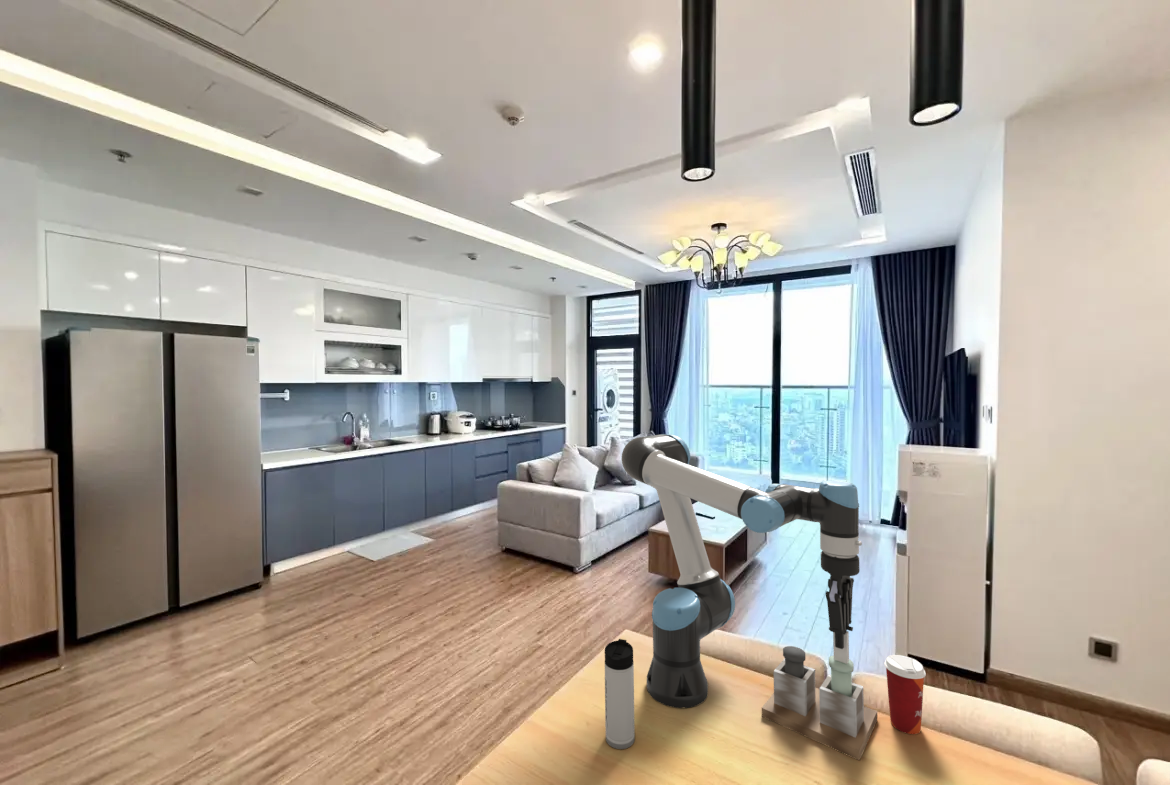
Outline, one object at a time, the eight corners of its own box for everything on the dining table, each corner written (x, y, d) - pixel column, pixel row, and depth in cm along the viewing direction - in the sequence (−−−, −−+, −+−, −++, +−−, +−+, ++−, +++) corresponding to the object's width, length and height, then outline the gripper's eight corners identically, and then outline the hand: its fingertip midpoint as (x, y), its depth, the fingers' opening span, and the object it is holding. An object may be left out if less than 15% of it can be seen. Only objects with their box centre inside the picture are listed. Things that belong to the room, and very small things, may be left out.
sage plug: (826, 713, 105) (825, 661, 105) (833, 702, 109) (832, 652, 109) (851, 722, 102) (850, 670, 102) (856, 711, 105) (856, 660, 105)
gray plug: (780, 700, 112) (779, 652, 112) (787, 690, 115) (787, 644, 115) (802, 709, 109) (801, 659, 109) (808, 698, 112) (808, 651, 112)
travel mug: (637, 731, 106) (636, 640, 106) (630, 752, 100) (629, 656, 100) (610, 725, 108) (609, 636, 108) (601, 746, 102) (600, 651, 102)
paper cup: (933, 740, 102) (932, 674, 102) (893, 735, 104) (892, 670, 104) (916, 715, 110) (915, 654, 110) (879, 711, 111) (878, 651, 111)
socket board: (761, 716, 110) (761, 675, 110) (787, 684, 122) (786, 647, 122) (859, 760, 97) (858, 713, 97) (877, 719, 109) (876, 677, 109)
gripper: (850, 564, 98) (852, 680, 98) (866, 548, 108) (867, 654, 108) (811, 556, 103) (813, 666, 103) (829, 542, 113) (831, 642, 113)
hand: (841, 660), depth 105 cm, fingers closed
